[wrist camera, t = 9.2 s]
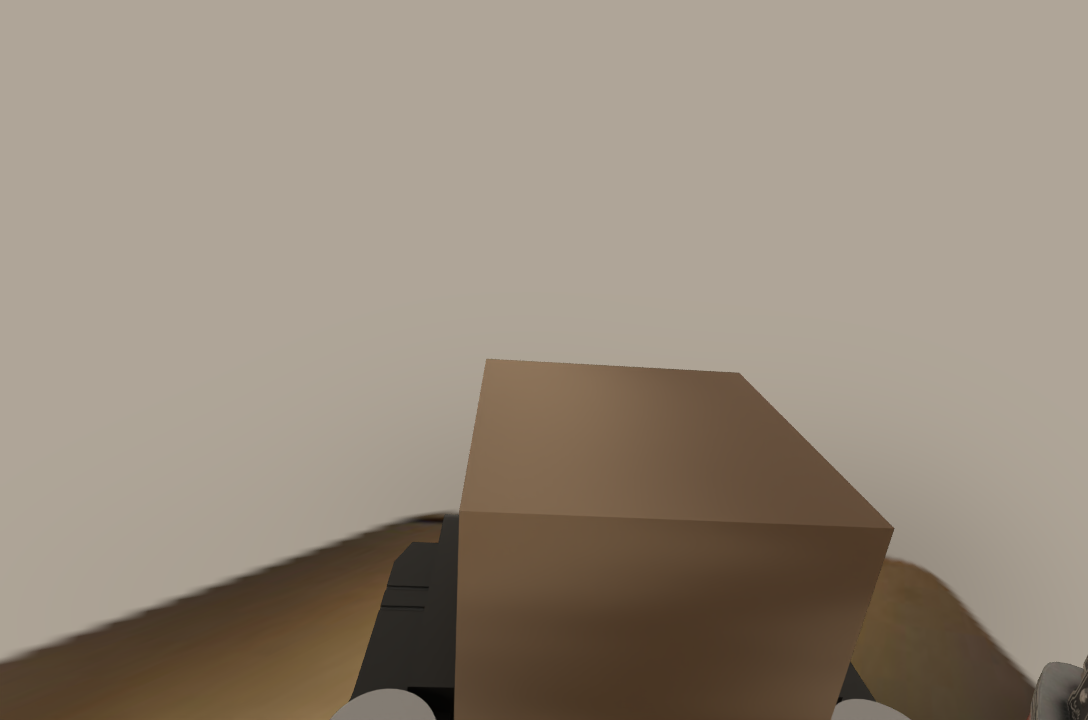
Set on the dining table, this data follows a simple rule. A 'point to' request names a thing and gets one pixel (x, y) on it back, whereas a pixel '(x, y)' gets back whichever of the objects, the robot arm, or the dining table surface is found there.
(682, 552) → the tall brown wooden block
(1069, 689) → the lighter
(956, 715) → the dining table surface
